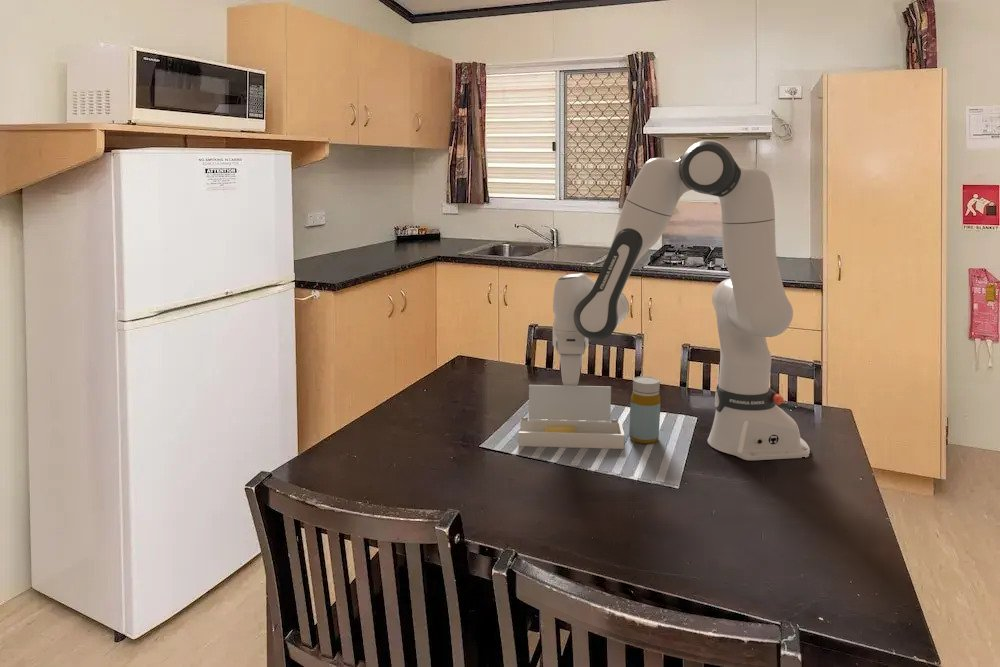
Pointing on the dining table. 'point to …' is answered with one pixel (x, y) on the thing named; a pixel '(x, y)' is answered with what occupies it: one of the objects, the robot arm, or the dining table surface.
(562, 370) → the robot arm
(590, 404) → the cover
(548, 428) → the yellow cylinder
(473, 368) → the dining table surface
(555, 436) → the white long shallow tray
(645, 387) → the bottle
